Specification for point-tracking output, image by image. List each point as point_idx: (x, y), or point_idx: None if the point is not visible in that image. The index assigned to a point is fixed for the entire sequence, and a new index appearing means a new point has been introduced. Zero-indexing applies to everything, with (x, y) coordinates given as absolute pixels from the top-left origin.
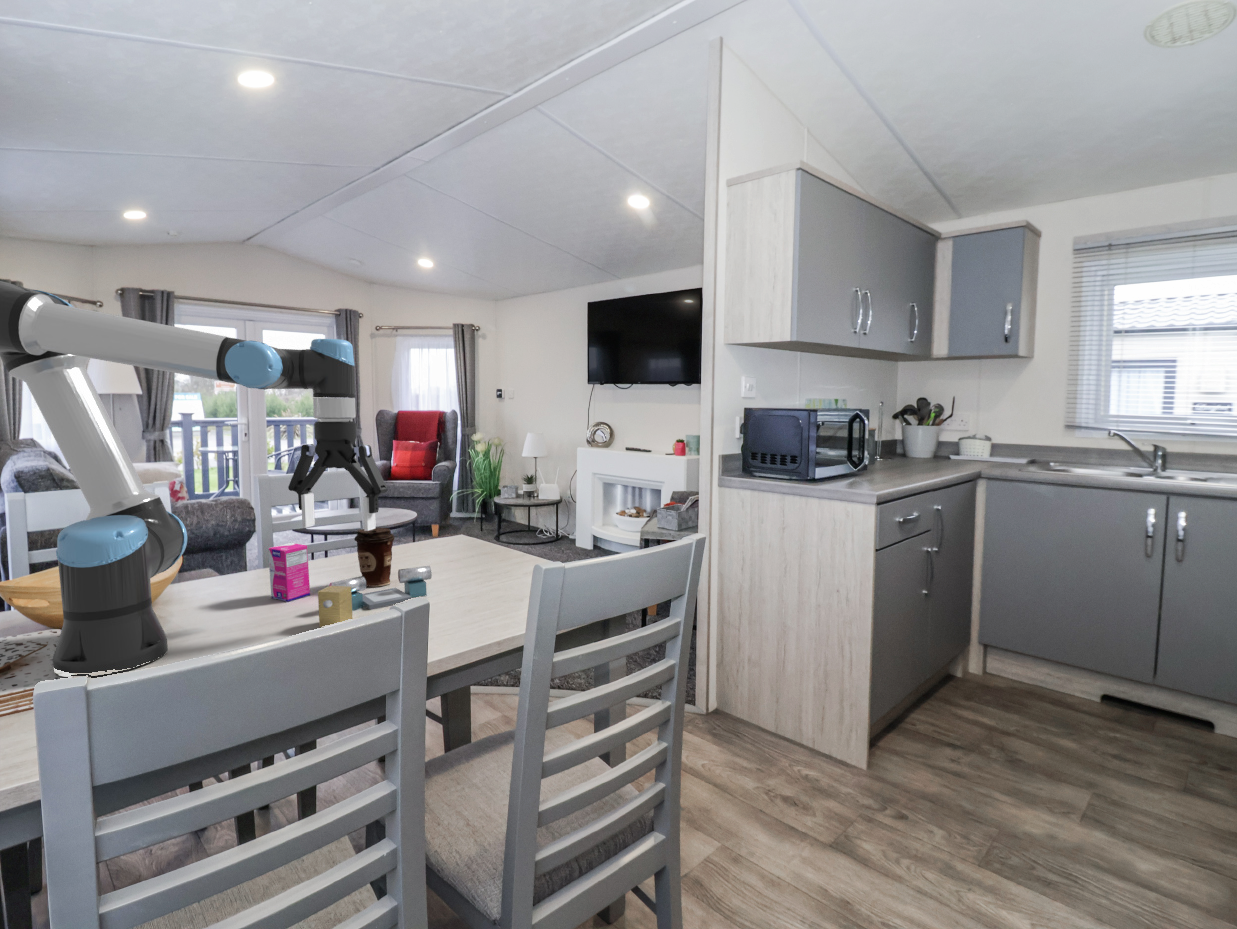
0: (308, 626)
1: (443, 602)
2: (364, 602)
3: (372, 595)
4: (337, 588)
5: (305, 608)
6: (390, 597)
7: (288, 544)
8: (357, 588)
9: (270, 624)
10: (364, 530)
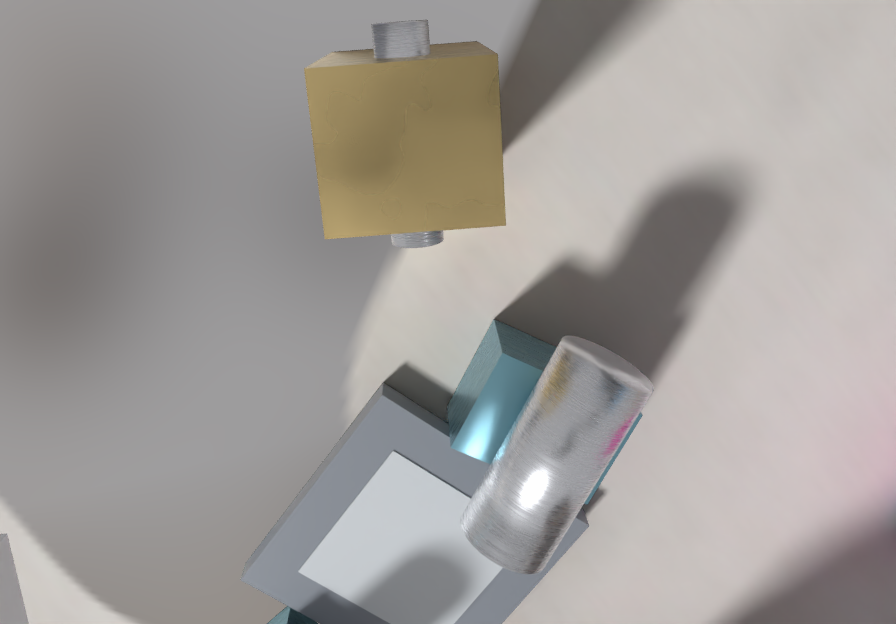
0: (555, 37)
1: (58, 585)
2: None
3: None
4: (396, 167)
5: (782, 320)
6: (350, 538)
7: None
8: (490, 465)
9: (817, 12)
10: (3, 538)
